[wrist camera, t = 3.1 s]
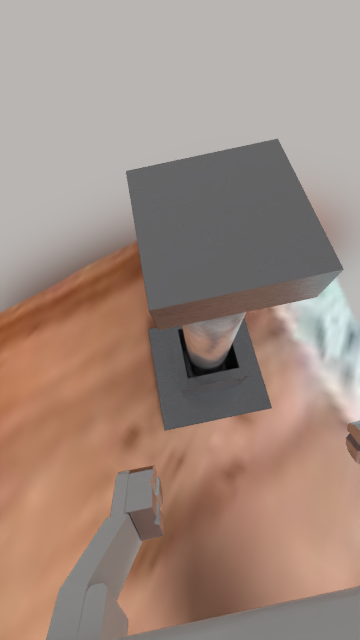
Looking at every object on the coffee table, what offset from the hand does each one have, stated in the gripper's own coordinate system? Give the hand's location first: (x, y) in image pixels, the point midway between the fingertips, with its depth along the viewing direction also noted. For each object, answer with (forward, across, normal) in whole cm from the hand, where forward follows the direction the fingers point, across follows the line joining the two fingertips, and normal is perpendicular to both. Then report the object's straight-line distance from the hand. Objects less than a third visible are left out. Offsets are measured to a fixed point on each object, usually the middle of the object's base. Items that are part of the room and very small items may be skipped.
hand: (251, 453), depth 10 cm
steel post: (+17, 0, +7) cm, 19 cm away
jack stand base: (+19, 0, +9) cm, 21 cm away
